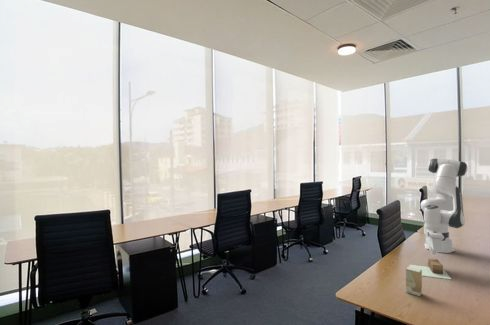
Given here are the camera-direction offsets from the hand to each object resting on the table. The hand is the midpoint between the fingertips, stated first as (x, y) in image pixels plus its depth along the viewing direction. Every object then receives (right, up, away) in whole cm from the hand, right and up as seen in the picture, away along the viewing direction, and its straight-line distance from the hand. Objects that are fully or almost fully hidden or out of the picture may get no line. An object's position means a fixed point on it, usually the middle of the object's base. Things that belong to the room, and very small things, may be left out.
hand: (433, 253), depth 162 cm
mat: (-6, -9, -5) cm, 12 cm away
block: (+1, -6, +2) cm, 6 cm away
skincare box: (-31, -10, -30) cm, 44 cm away
